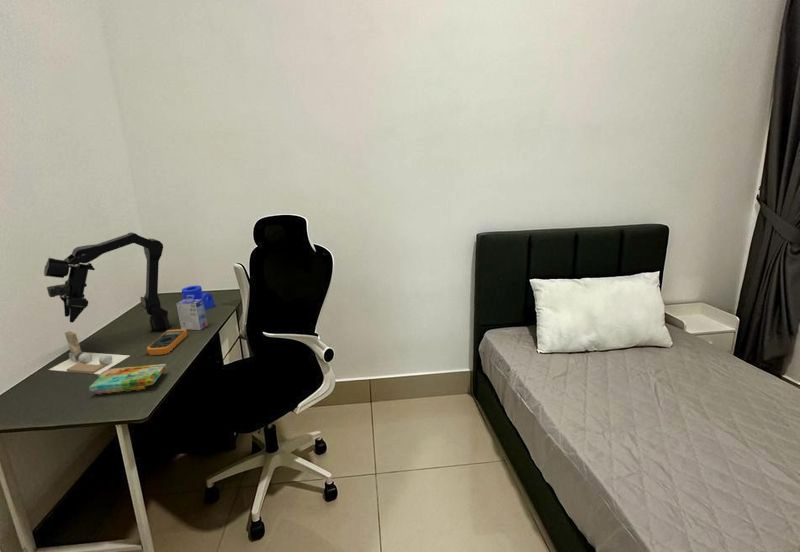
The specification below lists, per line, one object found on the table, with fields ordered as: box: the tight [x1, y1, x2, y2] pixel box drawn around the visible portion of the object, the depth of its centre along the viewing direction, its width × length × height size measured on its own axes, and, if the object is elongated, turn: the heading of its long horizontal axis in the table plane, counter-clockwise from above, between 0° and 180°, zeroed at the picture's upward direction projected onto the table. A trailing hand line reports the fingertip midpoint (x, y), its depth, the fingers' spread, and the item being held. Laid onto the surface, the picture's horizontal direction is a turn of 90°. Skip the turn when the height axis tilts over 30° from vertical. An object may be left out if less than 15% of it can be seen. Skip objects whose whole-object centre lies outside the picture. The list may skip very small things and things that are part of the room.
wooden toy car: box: [64, 330, 85, 363], centre depth 174 cm, size 3×5×11 cm
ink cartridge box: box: [175, 295, 209, 331], centre depth 200 cm, size 10×6×14 cm, turn 78°
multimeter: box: [146, 328, 188, 356], centre depth 186 cm, size 9×18×3 cm, turn 179°
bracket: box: [181, 285, 216, 311], centre depth 229 cm, size 20×9×8 cm, turn 51°
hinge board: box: [48, 351, 130, 378], centre depth 173 cm, size 14×23×4 cm, turn 76°
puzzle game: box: [88, 363, 168, 395], centre depth 157 cm, size 12×5×20 cm
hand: (68, 319), depth 178 cm, fingers open, 9 cm apart
